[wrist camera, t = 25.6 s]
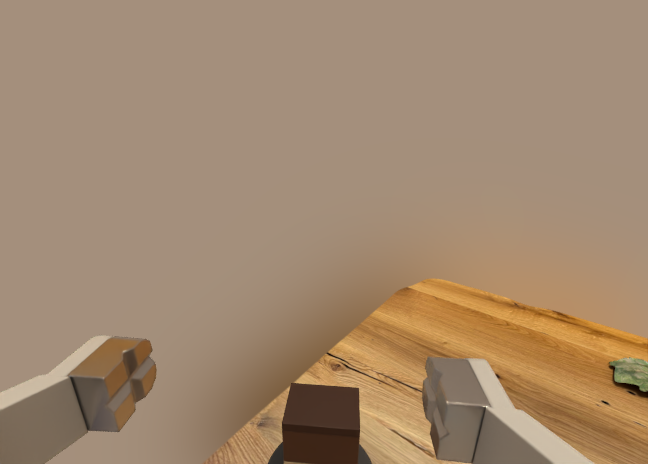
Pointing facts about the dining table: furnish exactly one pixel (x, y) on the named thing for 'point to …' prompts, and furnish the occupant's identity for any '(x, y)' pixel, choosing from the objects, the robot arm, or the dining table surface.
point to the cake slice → (321, 425)
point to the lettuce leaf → (632, 372)
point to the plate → (278, 458)
